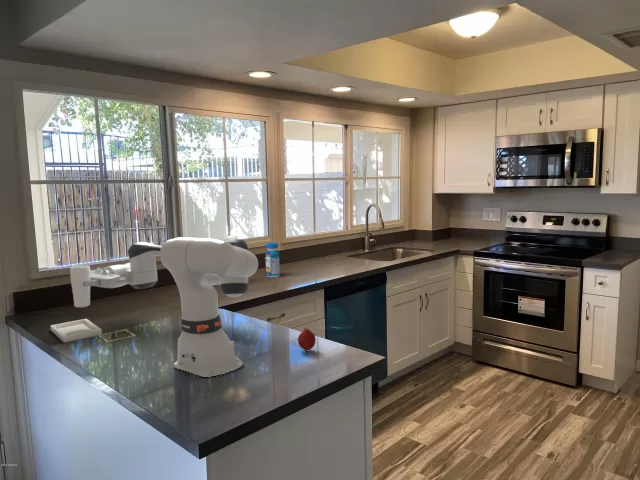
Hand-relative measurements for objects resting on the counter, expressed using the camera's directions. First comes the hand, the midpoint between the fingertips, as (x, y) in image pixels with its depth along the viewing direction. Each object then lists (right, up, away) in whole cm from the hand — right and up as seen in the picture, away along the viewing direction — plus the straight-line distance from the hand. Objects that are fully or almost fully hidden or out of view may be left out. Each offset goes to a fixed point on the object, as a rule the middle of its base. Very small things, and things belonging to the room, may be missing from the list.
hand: (78, 283), depth 175 cm
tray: (-4, -19, +5) cm, 20 cm away
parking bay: (+14, -20, 0) cm, 24 cm away
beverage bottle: (+62, -6, +108) cm, 124 cm away
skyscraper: (+40, -8, +92) cm, 100 cm away
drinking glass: (+1, -9, +2) cm, 9 cm away
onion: (+85, -21, -19) cm, 90 cm away
